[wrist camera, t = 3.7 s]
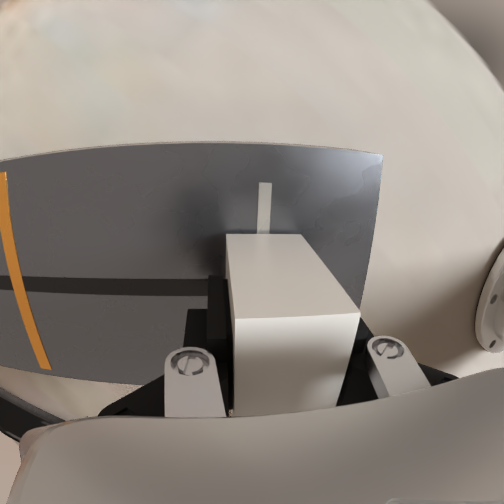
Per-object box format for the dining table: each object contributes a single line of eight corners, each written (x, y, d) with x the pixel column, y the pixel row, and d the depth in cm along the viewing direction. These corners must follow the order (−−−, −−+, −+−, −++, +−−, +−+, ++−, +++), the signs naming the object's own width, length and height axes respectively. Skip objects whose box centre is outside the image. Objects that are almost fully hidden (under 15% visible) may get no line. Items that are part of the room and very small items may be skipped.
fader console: (354, 149, 15) (383, 155, 12) (326, 346, 19) (342, 377, 16) (-28, 166, 12) (-60, 175, 10) (10, 338, 17) (-9, 363, 14)
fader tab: (300, 234, 13) (361, 312, 7) (289, 336, 15) (325, 436, 9) (226, 234, 12) (235, 318, 7) (225, 338, 14) (234, 445, 9)
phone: (128, 486, 23) (-3, 430, 20) (130, 477, 24) (0, 423, 21) (143, 455, 21) (-14, 386, 17) (144, 445, 22) (-9, 378, 18)
